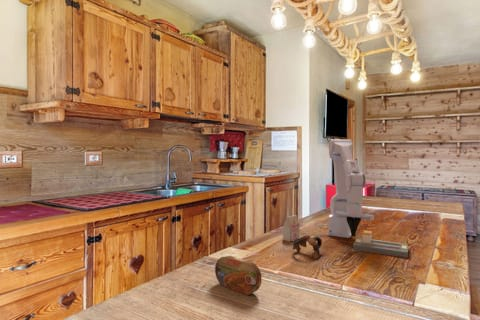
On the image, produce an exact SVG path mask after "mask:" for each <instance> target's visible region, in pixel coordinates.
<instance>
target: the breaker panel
mask: <svg viewBox="0 0 480 320" xmlns="http://www.w3.org/2000/svg"><path fill="white" fill-rule="evenodd" d="M354 240H355V241H354V242H353V244H352V250H353V251H360V252H366V253H371V254H380V255H385V256H386V255H387V256H393V257H400V258H404V259H405V258H406V259H408V258H409V249H408V248H409V246H408V243H403V242H394V241H387V240H380V239H372V238H371V243H367V242H362V237H357V236H356V239H354Z"/></svg>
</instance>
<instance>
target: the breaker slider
mask: <svg viewBox="0 0 480 320" xmlns="http://www.w3.org/2000/svg"><path fill="white" fill-rule="evenodd" d="M372 232H373V231H372V230H363V232H362V237H361V238H362V242H367V243H371V239H372V235H373V233H372Z"/></svg>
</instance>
